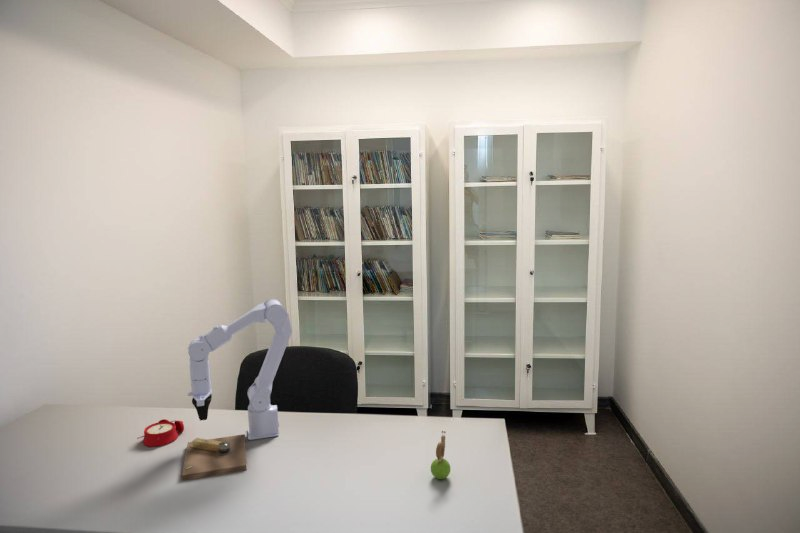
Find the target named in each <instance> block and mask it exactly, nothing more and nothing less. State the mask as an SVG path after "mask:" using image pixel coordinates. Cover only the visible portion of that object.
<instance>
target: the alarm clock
mask: <svg viewBox="0 0 800 533" xmlns="http://www.w3.org/2000/svg"><path fill="white" fill-rule="evenodd" d="M184 430H185V425H184V422H183V420H171V421H170V420H169V419H166V418H162V419H161V420H158V422H155V423H152V424H150V425H148V426H146V427H145V428H144V431H143V435H142V436H140V437H139V436H138V437H137V438H136V439H137V440H138V439H141V438H143V439H142V443H143V445H144V446H147V447H148V448H150V447H161V446H165V445H169V444H171V443H173V442H175V441H176V440H177V439H178V438H179V433H178V432H180V434H182V433H183V432H184ZM177 431H178V432H177Z"/></svg>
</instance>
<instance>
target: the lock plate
mask: <svg viewBox="0 0 800 533" xmlns="http://www.w3.org/2000/svg"><path fill="white" fill-rule="evenodd" d="M207 440H213V441H220V442H225V441H227V442H229V443H230V451H229V452H228V453H224V454H221V453H219V452H216V451H210V450H204V449H198V448H193V443H192V441H190V442H189V441H188V442H187V444H186V449H185V450H186V451H185V456H184V462H183V468H182V474H181V480H182V481H187V480H193V479H200V478H204V477H205V478H206V477H212V476H217V475H224V474H230V473H235V472H236V473H237V472H242V471H243V472H244V471H247V450H246V435H245V434H238V435H230V436H222V437H217V438H216V437H215V438H209V439H207Z"/></svg>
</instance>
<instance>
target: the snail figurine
mask: <svg viewBox="0 0 800 533" xmlns="http://www.w3.org/2000/svg"><path fill="white" fill-rule="evenodd" d="M446 433H447V432H446V430H445V431H443V430H441V436H440V441H439V442H438V443H437V445H436V448H435V456H436V459H433V461H432V462H431V465H430V473H431V475H432V476H433V477H434V478H435V479H437V480H444V479H446V478H447V477H448V476H450V473H451V464H450V462H449V461H448V460H447V459H445V458H444V456H445V451H446V435H445V434H446Z"/></svg>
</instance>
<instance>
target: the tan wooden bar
mask: <svg viewBox="0 0 800 533" xmlns="http://www.w3.org/2000/svg"><path fill="white" fill-rule="evenodd" d="M191 442H192V443H193V448H198V449H204V450H210V451H216V452H219V453H221V454H224V453H228V452H229V451H230V443H229V442H227V441H225V442H220V441H213V440H208V439H207V438H206V439H205V438H201V437H196V438H194V439H193V440H192V441H191Z"/></svg>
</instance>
